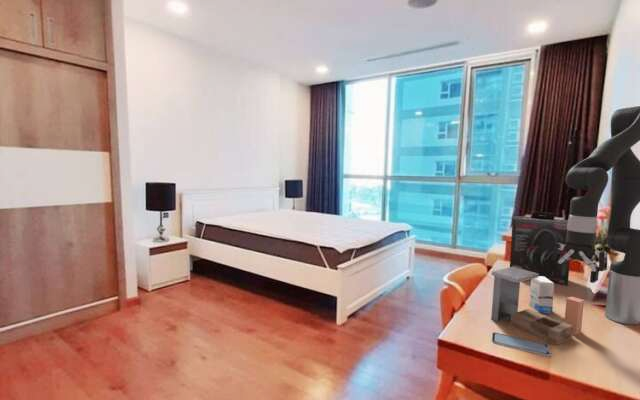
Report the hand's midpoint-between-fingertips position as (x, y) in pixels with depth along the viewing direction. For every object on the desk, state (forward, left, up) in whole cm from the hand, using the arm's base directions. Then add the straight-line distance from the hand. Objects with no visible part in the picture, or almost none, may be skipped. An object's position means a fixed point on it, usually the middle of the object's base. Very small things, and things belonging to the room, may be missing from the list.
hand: (576, 278), depth 109 cm
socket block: (+10, -5, -18) cm, 21 cm away
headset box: (-49, -36, -18) cm, 63 cm away
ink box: (-10, -15, -18) cm, 26 cm away
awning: (+10, -14, -18) cm, 25 cm away
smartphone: (+24, -4, -19) cm, 31 cm away
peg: (0, 0, -18) cm, 18 cm away
